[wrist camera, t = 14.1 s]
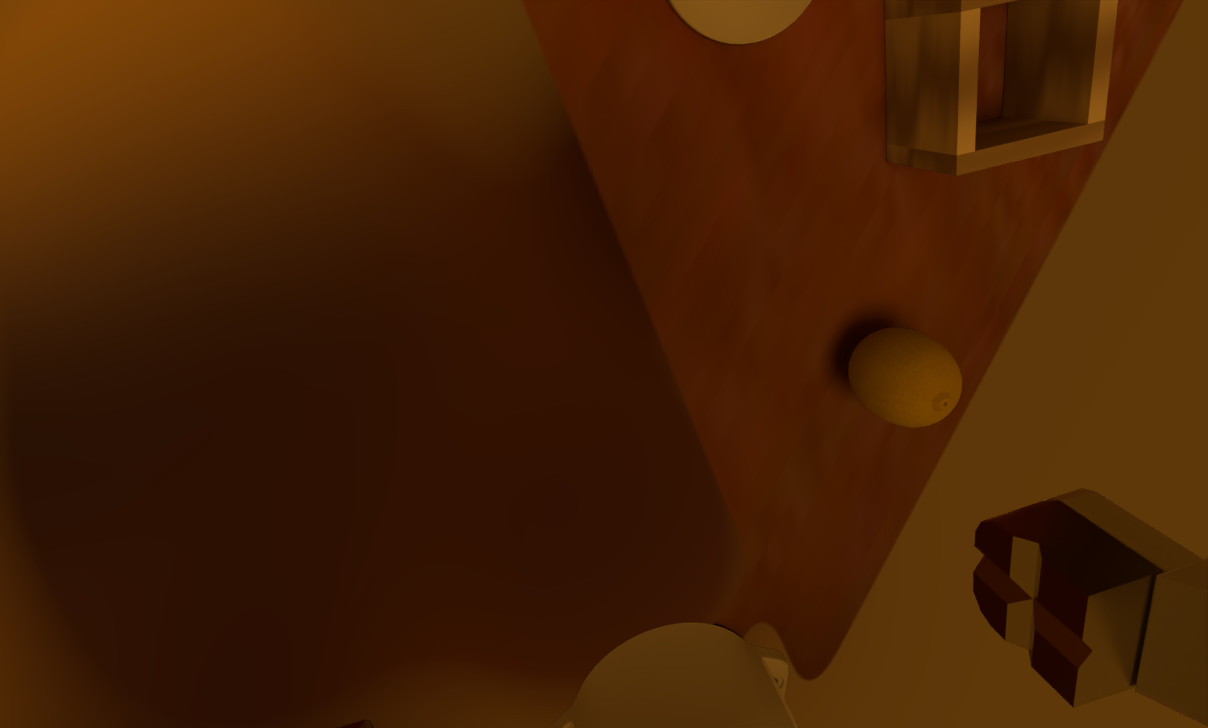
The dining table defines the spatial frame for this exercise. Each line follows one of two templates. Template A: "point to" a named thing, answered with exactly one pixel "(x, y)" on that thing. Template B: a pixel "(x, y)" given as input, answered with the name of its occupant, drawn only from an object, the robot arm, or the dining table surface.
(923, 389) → the lemon
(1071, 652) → the robot arm
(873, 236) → the dining table surface
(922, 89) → the oak sleeve
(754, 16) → the coaster
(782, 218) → the dining table surface
